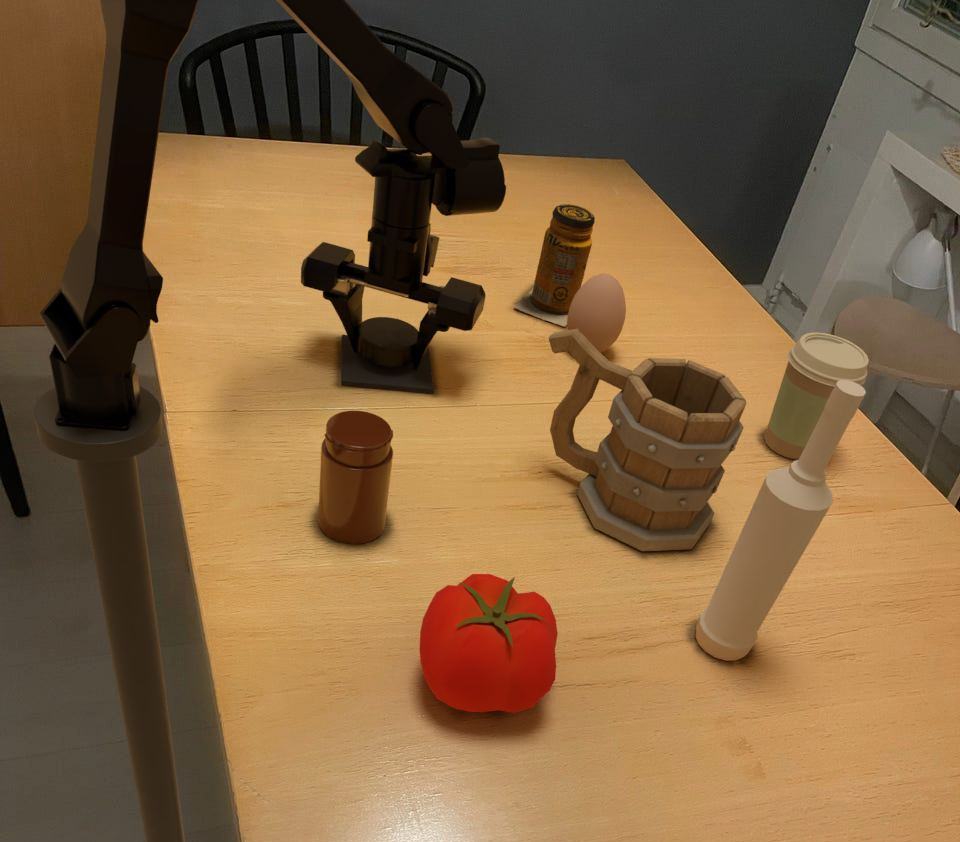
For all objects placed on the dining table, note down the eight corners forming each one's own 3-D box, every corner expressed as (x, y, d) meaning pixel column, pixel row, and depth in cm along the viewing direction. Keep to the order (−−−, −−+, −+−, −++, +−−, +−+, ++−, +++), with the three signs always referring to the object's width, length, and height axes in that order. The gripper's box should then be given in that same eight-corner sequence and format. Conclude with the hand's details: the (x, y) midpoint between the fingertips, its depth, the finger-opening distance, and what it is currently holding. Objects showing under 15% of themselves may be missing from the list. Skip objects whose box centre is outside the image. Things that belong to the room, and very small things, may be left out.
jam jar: (317, 542, 79) (321, 446, 72) (318, 499, 83) (323, 405, 76) (385, 546, 80) (396, 452, 73) (383, 504, 85) (394, 411, 77)
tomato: (384, 675, 70) (395, 594, 64) (483, 617, 76) (502, 538, 70) (478, 764, 66) (500, 686, 59) (576, 695, 72) (604, 618, 66)
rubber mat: (341, 385, 97) (341, 380, 97) (341, 339, 104) (341, 334, 104) (433, 394, 99) (434, 389, 99) (427, 347, 106) (428, 343, 106)
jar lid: (430, 353, 102) (433, 334, 100) (392, 374, 97) (394, 355, 96) (382, 329, 104) (384, 310, 102) (343, 348, 99) (344, 329, 98)
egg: (586, 371, 108) (607, 293, 102) (548, 343, 112) (567, 266, 105) (624, 359, 112) (648, 283, 105) (587, 333, 115) (607, 258, 108)
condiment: (585, 304, 121) (609, 212, 113) (564, 328, 115) (588, 233, 107) (535, 286, 122) (555, 194, 114) (512, 309, 116) (531, 214, 108)
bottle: (682, 624, 80) (799, 369, 62) (730, 616, 82) (857, 366, 64) (711, 667, 77) (843, 411, 59) (761, 657, 78) (904, 406, 61)
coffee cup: (824, 437, 107) (872, 343, 98) (824, 475, 101) (875, 379, 92) (754, 416, 108) (795, 321, 99) (750, 453, 102) (794, 356, 93)
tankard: (721, 507, 93) (779, 377, 83) (677, 570, 85) (735, 435, 74) (552, 429, 98) (586, 297, 88) (495, 481, 90) (525, 342, 79)
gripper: (508, 214, 95) (483, 349, 106) (340, 168, 96) (333, 307, 107) (483, 253, 87) (459, 395, 98) (300, 203, 88) (297, 349, 99)
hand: (386, 359), depth 101 cm, fingers closed on jar lid, 6 cm apart
